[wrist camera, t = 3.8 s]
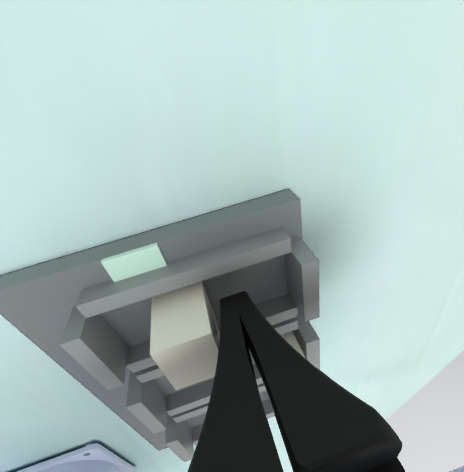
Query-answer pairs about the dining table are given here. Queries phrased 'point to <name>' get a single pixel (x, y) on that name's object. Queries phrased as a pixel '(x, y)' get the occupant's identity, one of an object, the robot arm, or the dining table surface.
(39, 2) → the dining table surface
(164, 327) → the tab
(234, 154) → the dining table surface
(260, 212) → the switch bank
